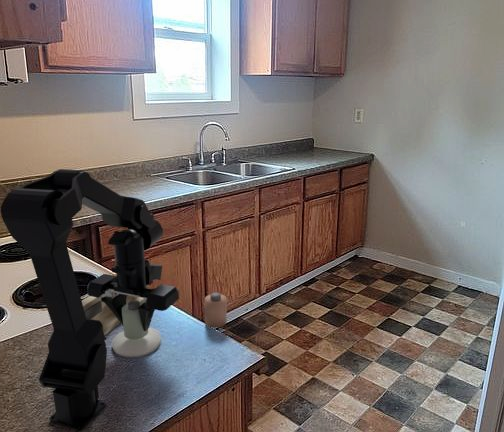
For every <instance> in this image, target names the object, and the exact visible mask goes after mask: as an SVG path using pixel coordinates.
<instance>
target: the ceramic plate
mask: <svg viewBox="0 0 504 432" xmlns="http://www.w3.org/2000/svg"><path fill="white" fill-rule="evenodd" d="M161 337H162V336H161V333H160V331H158V330H157V329H155V328H153V327H150V326H149V329H148V334H147V335H146V336H145V337H143V338H140V339H128V338H126V337H125V336H124V330H122V331H120V332H119V333H117V334H116V335H115V336H114V338H113V339H112V342H111V343H112V345H111V346H112V350H113V352H114V353H115V354H116V355H118V356H121V357H124V358H138V357H144V356H146V355H147V356H148V355H149V354H151V353H153V352H154V351H155V350H157V349H158V348H159V347H160V345H161V343H162V339H161Z"/></svg>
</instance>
